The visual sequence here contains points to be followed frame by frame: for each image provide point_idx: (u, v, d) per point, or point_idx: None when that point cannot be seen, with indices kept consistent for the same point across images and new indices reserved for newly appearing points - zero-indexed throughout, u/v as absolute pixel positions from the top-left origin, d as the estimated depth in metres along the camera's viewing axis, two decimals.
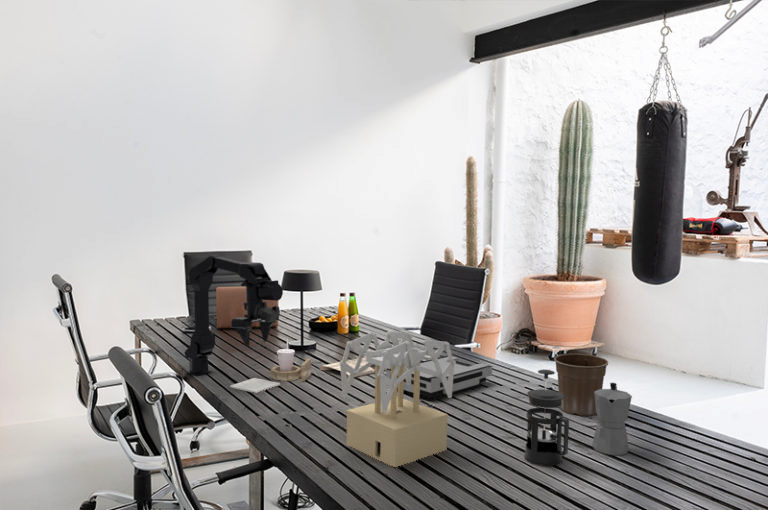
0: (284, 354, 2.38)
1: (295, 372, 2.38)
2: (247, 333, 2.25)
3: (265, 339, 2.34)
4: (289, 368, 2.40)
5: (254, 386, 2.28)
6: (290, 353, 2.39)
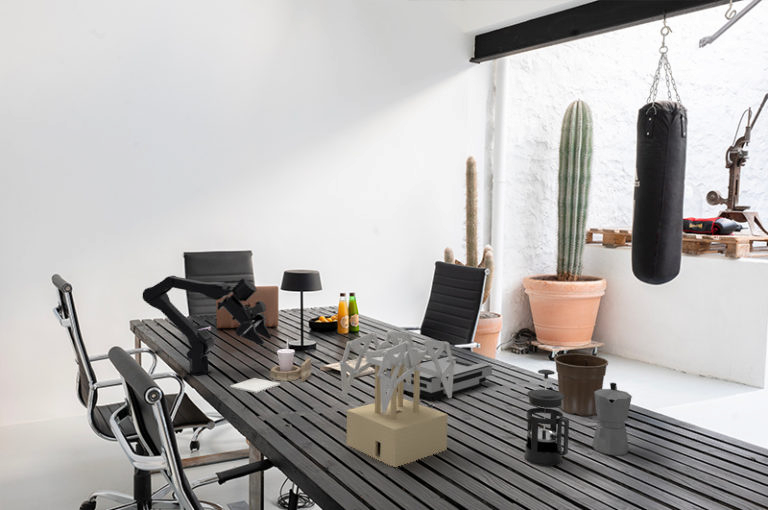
0: (284, 354, 2.38)
1: (295, 372, 2.38)
2: (255, 332, 2.36)
3: (269, 336, 2.46)
4: (289, 368, 2.40)
5: (254, 386, 2.28)
6: (290, 353, 2.39)
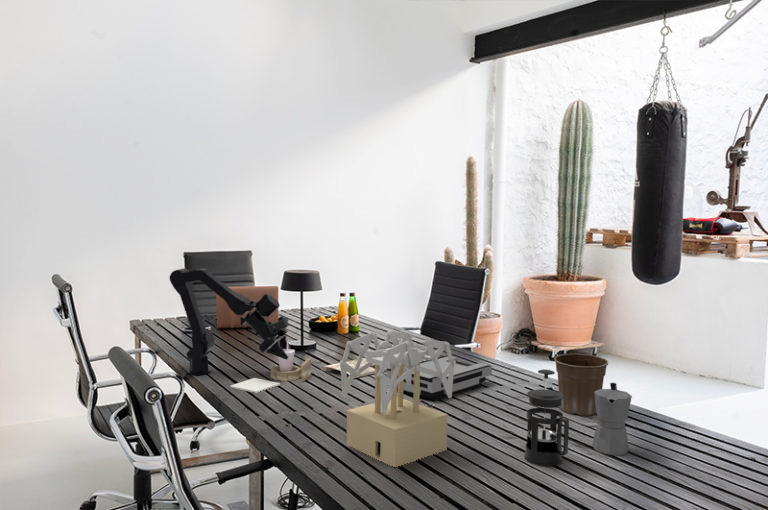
0: None
1: (295, 372, 2.38)
2: (279, 347, 2.37)
3: None
4: (289, 368, 2.40)
5: (254, 386, 2.28)
6: (290, 353, 2.39)
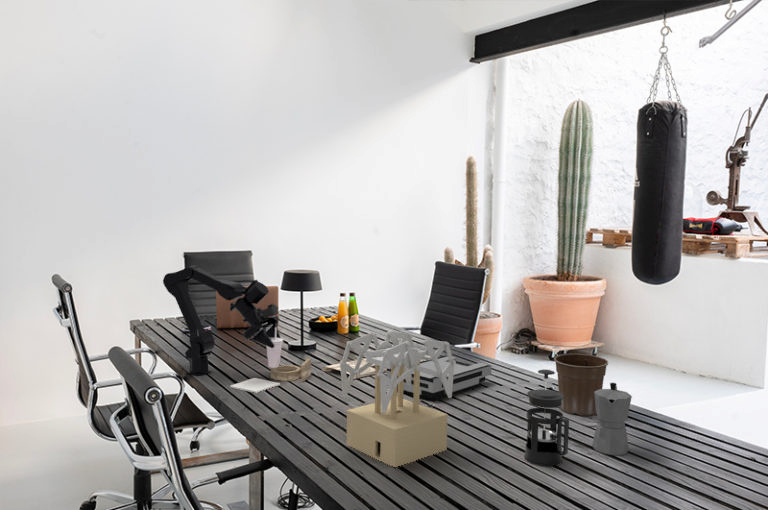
0: None
1: (295, 372, 2.38)
2: (265, 335, 2.31)
3: None
4: (276, 357, 2.34)
5: (254, 386, 2.28)
6: (277, 342, 2.32)
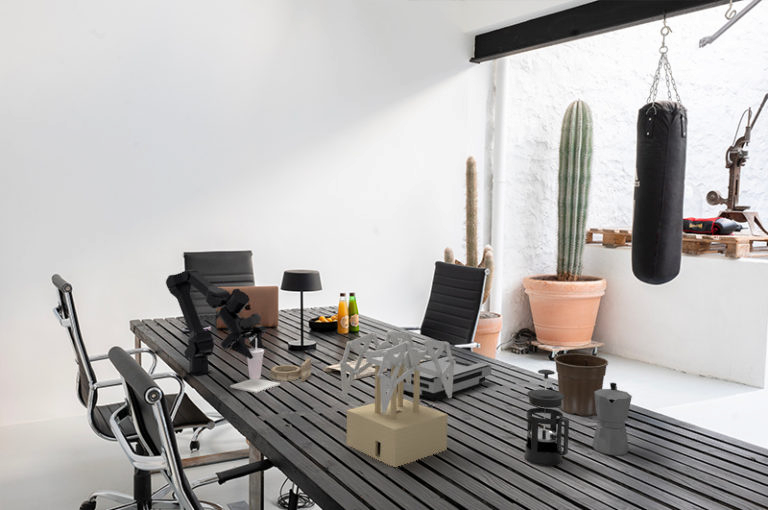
0: None
1: (295, 372, 2.38)
2: (243, 345, 2.25)
3: None
4: (256, 369, 2.27)
5: (254, 386, 2.28)
6: (256, 353, 2.26)
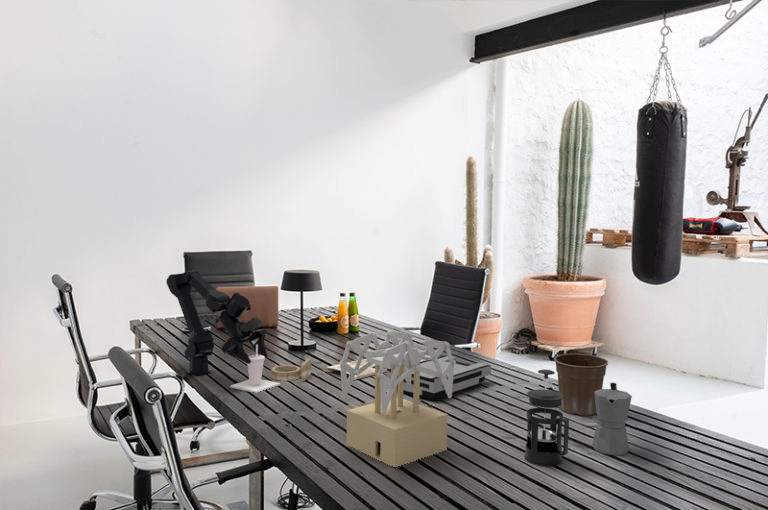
0: (250, 360, 2.26)
1: (295, 372, 2.38)
2: (241, 350, 2.24)
3: (265, 355, 2.33)
4: (256, 375, 2.28)
5: (254, 386, 2.28)
6: (257, 360, 2.26)
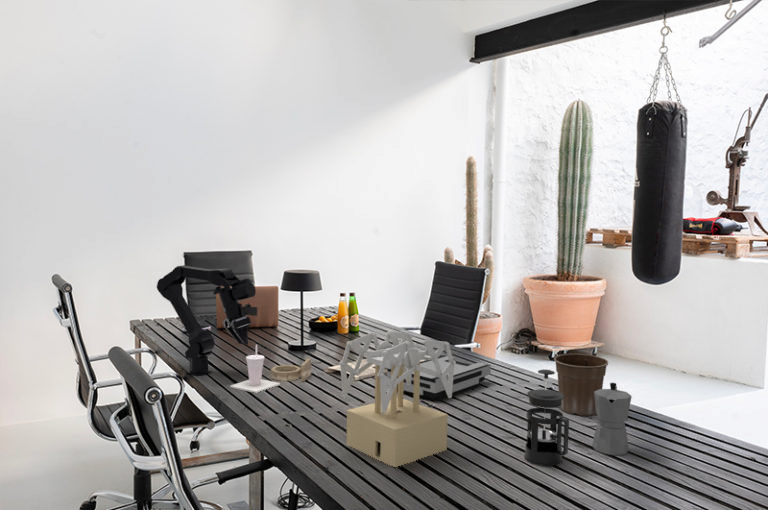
0: (250, 360, 2.26)
1: (295, 372, 2.38)
2: None
3: (240, 341, 2.43)
4: (256, 375, 2.28)
5: (254, 386, 2.28)
6: (256, 360, 2.26)
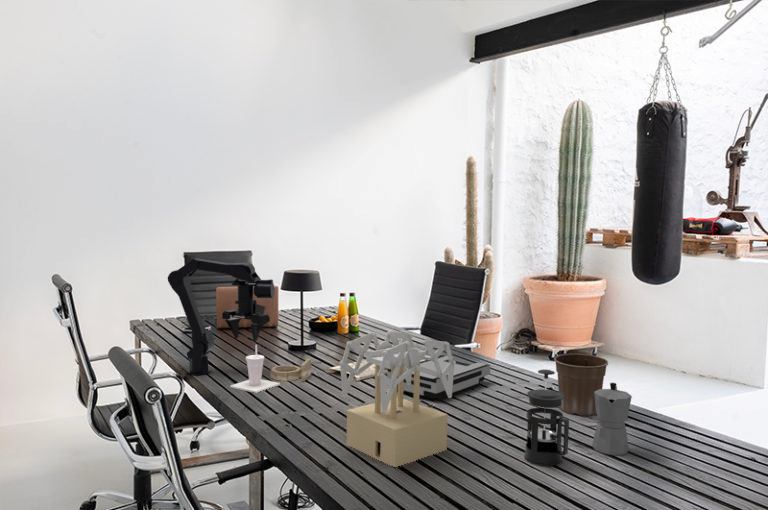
0: (250, 360, 2.26)
1: (295, 372, 2.38)
2: None
3: (237, 336, 2.46)
4: (256, 375, 2.28)
5: (254, 386, 2.28)
6: (256, 360, 2.26)
